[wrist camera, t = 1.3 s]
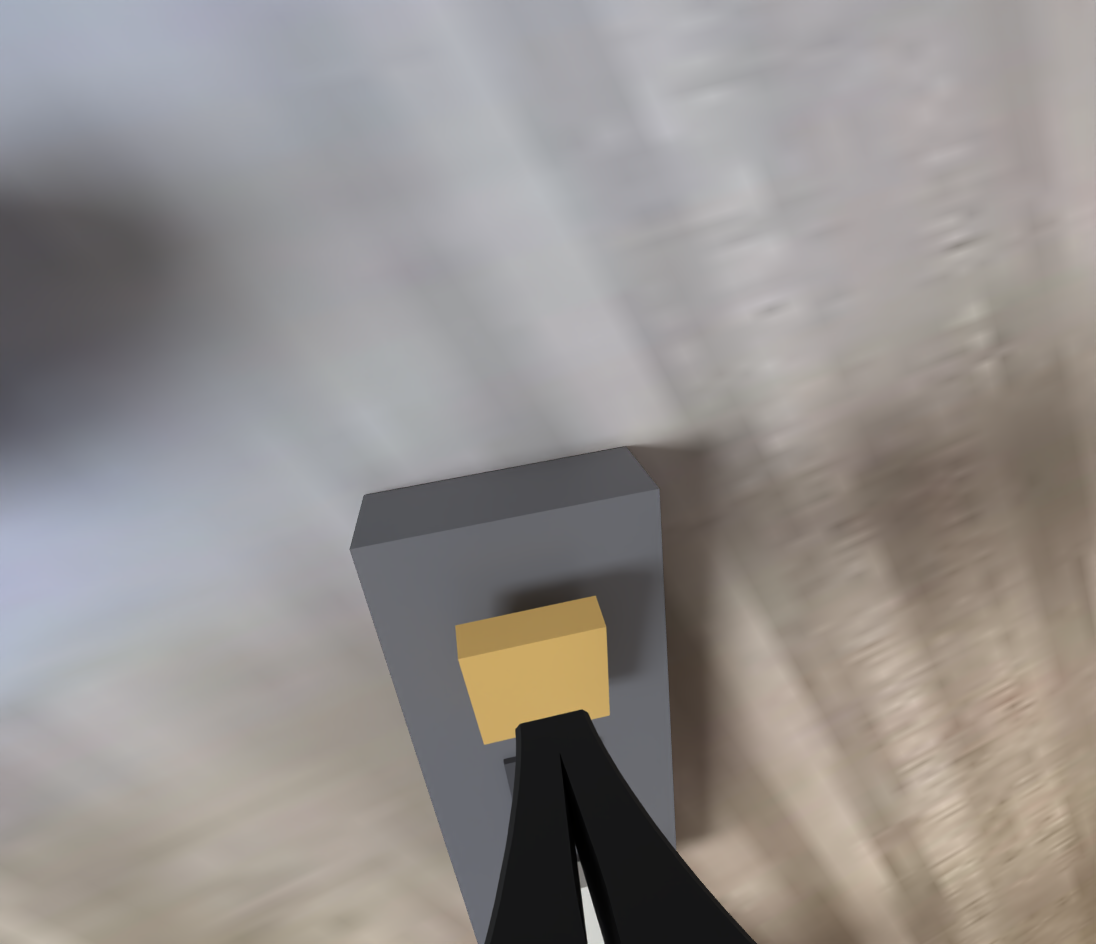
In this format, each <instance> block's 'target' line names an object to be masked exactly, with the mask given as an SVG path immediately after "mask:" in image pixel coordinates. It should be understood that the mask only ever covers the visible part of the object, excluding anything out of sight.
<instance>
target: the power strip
mask: <svg viewBox="0 0 1096 944" xmlns="http://www.w3.org/2000/svg"><path fill="white" fill-rule="evenodd" d="M350 552H351V555H352V558H353V561H354V564H355V567H356V570H357V573H358V577H359V580H360V583H361V586H362V589H363V592H364V595H365V598H366V601H367V604H368V607H369V610H370V613H371V616H372V620H373V623H374V626H375V629H376V632H377V635H378V638H379V641H380V644H381V647H382V650H383V653H384V656H385V660H386V663H387V666H388V669H389V672H390V675H391V678H392V681H393V684H394V687H395V690H396V693H397V696H398V699H399V703H400V706H401V709H402V712H403V715H404V718H405V721H406V724H407V727H408V730H409V733H410V736H411V739H412V742H413V746H414V749H415V752H416V755H417V758H418V761H419V764H420V767H421V770H422V773H423V776H424V779H425V782H426V786H427V789H428V792H429V795H430V798H431V801H432V804H433V807H434V810H435V813H436V816H437V819H438V822H439V825H440V829H441V832H442V835H443V838H444V841H445V844H446V847H447V850H448V853H449V856H450V859H451V862H452V865H453V868H454V872H455V875H456V878H457V881H458V884H459V887H460V890H461V893H462V896H463V899H464V902H465V905H466V908H467V912H468V915H469V918H470V921H471V924H472V927H473V930H474V933H475V936H476V939H477V942H478V944H484V943H485V939H486V935H487V931H488V927H489V923H490V919H491V915H492V910H493V906H494V902H495V897H496V892H497V887H498V882H499V877H500V872H501V867H502V862H503V857H504V852H505V846H506V840H507V834H508V827H509V820H510V813H511V806H512V799H513V789H514V778H515V765H516V738H511V739H507V740H503V741H499V742H494V743H490V744H486V745H484V743H483V739H482V736H481V733H480V730H479V726H478V723H477V720H476V717H475V713H474V710H473V707H472V703H471V700H470V697H469V694H468V690H467V687H466V684H465V681H464V677H463V674H462V671H461V667H460V664H459V661H458V653H457V641H456V629H455V625H460V624H464V623H469V622H474V621H478V620H483V619H488V618H493V617H497V616H502V615H507V614H511V613H516V612H521V611H525V610H530V609H535V608H540V607H544V606H549V605H554V604H558V603H563V602H568V601H572V600H577V599H582V598H587V597H591V596H596V598H597V601H598V604H599V607H600V610H601V613H602V616H603V618H604V621H605V624H606V631H607V656H608V681H609V706H610V715H609V716H605V717H601V718H596V719H592V723H593V725H594V727H595V729H596V731H597V733H598V735H599V737H600V738H601V740H602V742H603V744H604V746H605V748H606V749H607V751H608V753H609V755H610V756H611V758H612V759H613V761H614V763H615V764H616V766H617V768H618V769H619V771H620V773H621V774H622V776H623V777H624V779H625V780H626V782H627V783H628V785H629V786H630V788H631V789H632V791H633V792H634V794H635V795H636V797H637V798H638V799H639V801H640V802H641V804H642V805H643V807H644V808H645V810H646V811H647V812H648V814H649V815H650V817H651V818H652V819H653V821H654V822H655V823H656V825H657V826H658V828H659V829H660V830H661V832H662V833H663V834H664V836H665V837H666V838H667V839H668V841H669V842H670V843H671V845H672V846H673V847H674V848H675V850H676V833H675V812H674V790H673V769H672V747H671V726H670V705H669V683H668V662H667V640H666V619H665V597H664V576H663V555H662V533H661V512H660V490H659V488H658V486H657V485H656V484H655V483H654V481H653V480H652V479H651V477H650V476H649V475H648V474H647V472H646V471H645V470H644V469H643V467H642V466H641V465H640V464H639V462H638V461H637V460H636V458H635V457H634V456H633V455H632V453H631V452H630V451H629V450H628V448H627V447H620V448H615V449H610V450H604V451H599V452H594V453H588V454H583V455H578V456H572V457H567V458H562V459H556V460H551V461H546V462H540V463H535V464H529V465H524V466H519V467H513V468H508V469H503V470H497V471H492V472H487V473H481V474H476V475H471V476H465V477H460V478H455V479H449V480H444V481H438V482H433V483H428V484H422V485H417V486H412V487H406V488H401V489H396V490H390V491H385V492H380V493H374V494H369V495H364V496H363V500H362V504H361V508H360V512H359V516H358V519H357V523H356V527H355V531H354V535H353V539H352V542H351V546H350ZM575 847H576V846H575ZM576 855H577V862H579V861H580V859H579V856H578V852H577V849H576Z"/></svg>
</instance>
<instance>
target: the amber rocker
mask: <svg viewBox="0 0 1096 944" xmlns="http://www.w3.org/2000/svg"><path fill="white" fill-rule="evenodd" d="M455 629H456V641H457V653H458V661H459V664H460V667H461V671H462V674H463V677H464V681H465V684H466V687H467V690H468V694H469V697H470V700H471V703H472V707H473V710H474V713H475V717H476V720H477V723H478V726H479V730H480V733H481V736H482V739H483V743H484V745H486V744H490V743H494V742H499V741H503V740H507V739H511V738H516V735H515V729H516V728H517V727H518V725H519V724H521V723H525V722H529V721H534V720H538V719H542V718H547V717H551V716H555V715H559V714H564V713H568V712H572V711H577V710H581V709H583V710H585V711H586V712H588V713H589V716H590V718H591V720H592V719H596V718H601V717H605V716H609V715H610V706H609V681H608V656H607V631H606V624H605V621H604V618H603V616H602V613H601V610H600V607H599V604H598V601H597V598H596V596H591V597H587V598H582V599H577V600H572V601H568V602H563V603H558V604H554V605H549V606H544V607H540V608H535V609H530V610H525V611H521V612H516V613H511V614H507V615H502V616H497V617H493V618H488V619H483V620H478V621H474V622H469V623H464V624H460V625H455Z"/></svg>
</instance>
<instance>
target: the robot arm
mask: <svg viewBox="0 0 1096 944" xmlns="http://www.w3.org/2000/svg"><path fill="white" fill-rule="evenodd" d="M515 735H516V765H515V778H514V789H513V799H512V806H511V813H510V820H509V827H508V834H507V840H506V846H505V852H504V857H503V862H502V867H501V872H500V877H499V882H498V887H497V892H496V897H495V902H494V906H493V910H492V915H491V919H490V923H489V927H488V931H487V935H486V939H485V943H484V944H588V941H587V933H586V925H585V918H584V910H583V902H582V894H581V886H580V878H579V871H578V863H577V855H576V849H577V852H578V856H579V859H580V863H581V866H582V869H583V873H584V876H585V880H586V883H587V886H588V890H589V893H590V896H591V900H592V903H593V907H594V910H595V913H596V917H597V920H598V923H599V927H600V930H601V934H602V937H603V940H604V944H757V943H756V942H755V941H754V940H753V939H752V938H751V937H750V936H749V935H748V934H747V933H746V932H745V930H744V929H743V928H742V927H741V926H740V925H739V924H738V923H737V922H736V921H735V919H734V918H733V917H732V916H731V915H730V914H729V913H728V912H727V911H726V910H725V909H724V907H723V906H722V905H721V904H720V903H719V902H718V900H717V899H716V898H715V897H714V896H713V895H712V894H711V892H710V891H709V890H708V889H707V888H706V887H705V885H704V884H703V883H702V882H701V881H700V880H699V878H698V877H697V876H696V875H695V874H694V872H693V871H692V870H691V869H690V867H689V866H688V865H687V864H686V862H685V861H684V860H683V859H682V858H681V856H680V855H679V854H678V852H677V851H676V850H675V848H674V847H673V846H672V845H671V843H670V842H669V841H668V839H667V838H666V837H665V836H664V834H663V833H662V832H661V830H660V829H659V828H658V826H657V825H656V823H655V822H654V821H653V819H652V818H651V817H650V815H649V814H648V812H647V811H646V810H645V808H644V807H643V805H642V804H641V802H640V801H639V799H638V798H637V797H636V795H635V794H634V792H633V791H632V789H631V788H630V786H629V785H628V783H627V782H626V780H625V779H624V777H623V776H622V774H621V773H620V771H619V769H618V768H617V766H616V764H615V763H614V761H613V759H612V758H611V756H610V755H609V753H608V751H607V749H606V748H605V746H604V744H603V742H602V740H601V738H600V737H599V735H598V733H597V731H596V729H595V727H594V725H593V723H592V720H591V718H590V716H589V713H588V712H586V711H585V710H583V709H581V710H577V711H572V712H568V713H564V714H559V715H555V716H551V717H547V718H542V719H538V720H534V721H529V722H525V723H521V724H519V725H518V727H517V728H516V729H515ZM575 846H576V847H575Z"/></svg>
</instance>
